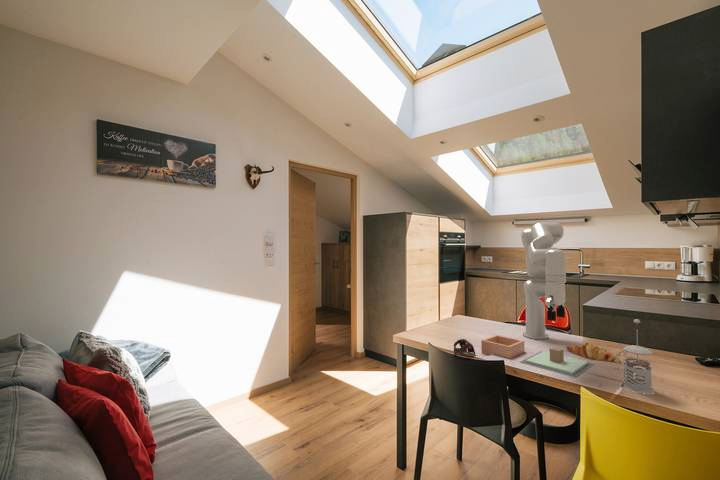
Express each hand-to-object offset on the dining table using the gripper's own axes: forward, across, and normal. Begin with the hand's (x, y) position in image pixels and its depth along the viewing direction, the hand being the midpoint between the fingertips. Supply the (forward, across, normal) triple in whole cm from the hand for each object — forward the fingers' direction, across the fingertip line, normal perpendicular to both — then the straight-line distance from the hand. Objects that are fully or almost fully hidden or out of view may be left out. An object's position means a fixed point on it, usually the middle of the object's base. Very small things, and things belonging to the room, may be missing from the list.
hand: (556, 318), depth 146 cm
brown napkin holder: (+20, +17, -34) cm, 43 cm away
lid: (+19, 0, 0) cm, 19 cm away
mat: (+20, 0, 0) cm, 20 cm away
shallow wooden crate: (+20, +2, -23) cm, 31 cm away
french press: (+20, +2, +27) cm, 34 cm away
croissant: (+20, -21, +7) cm, 30 cm away
